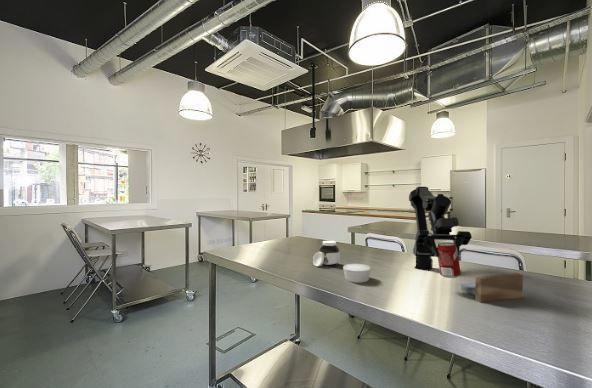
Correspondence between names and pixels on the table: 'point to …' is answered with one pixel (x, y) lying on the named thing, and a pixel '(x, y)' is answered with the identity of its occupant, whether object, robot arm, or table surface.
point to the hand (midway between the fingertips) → (447, 256)
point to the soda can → (448, 260)
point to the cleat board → (496, 287)
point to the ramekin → (357, 272)
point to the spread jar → (327, 255)
